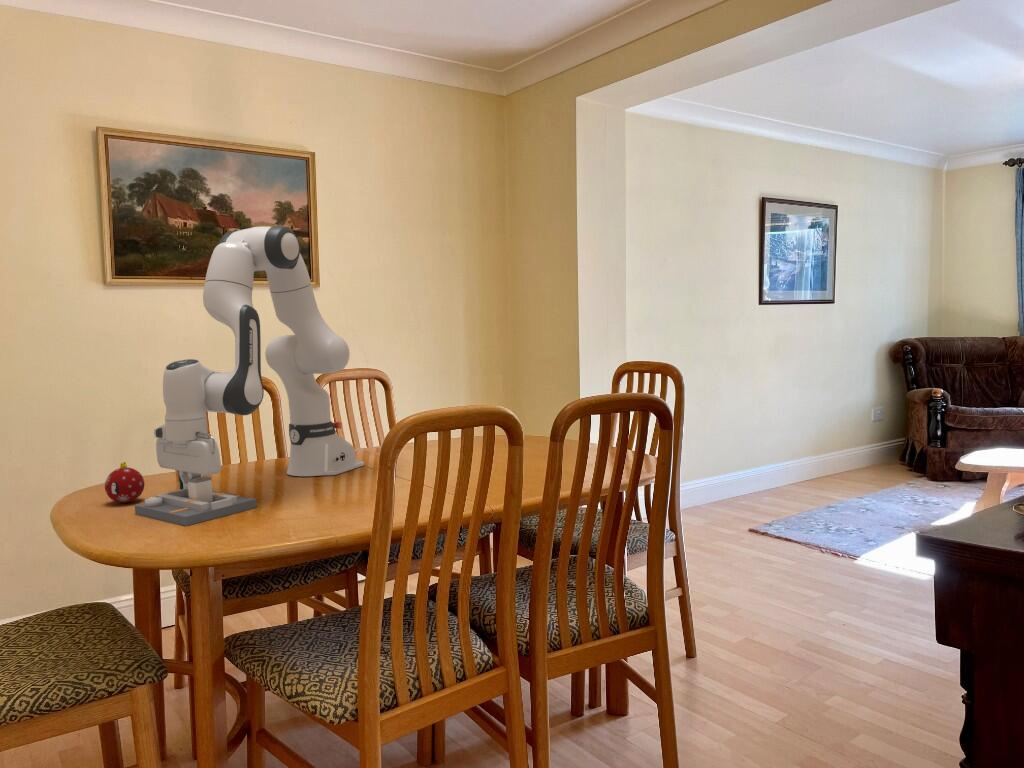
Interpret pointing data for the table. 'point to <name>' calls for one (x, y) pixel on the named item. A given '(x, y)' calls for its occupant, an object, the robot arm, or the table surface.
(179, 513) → the console
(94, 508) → the table surface
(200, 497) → the fader tab
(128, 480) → the christmas ornament
